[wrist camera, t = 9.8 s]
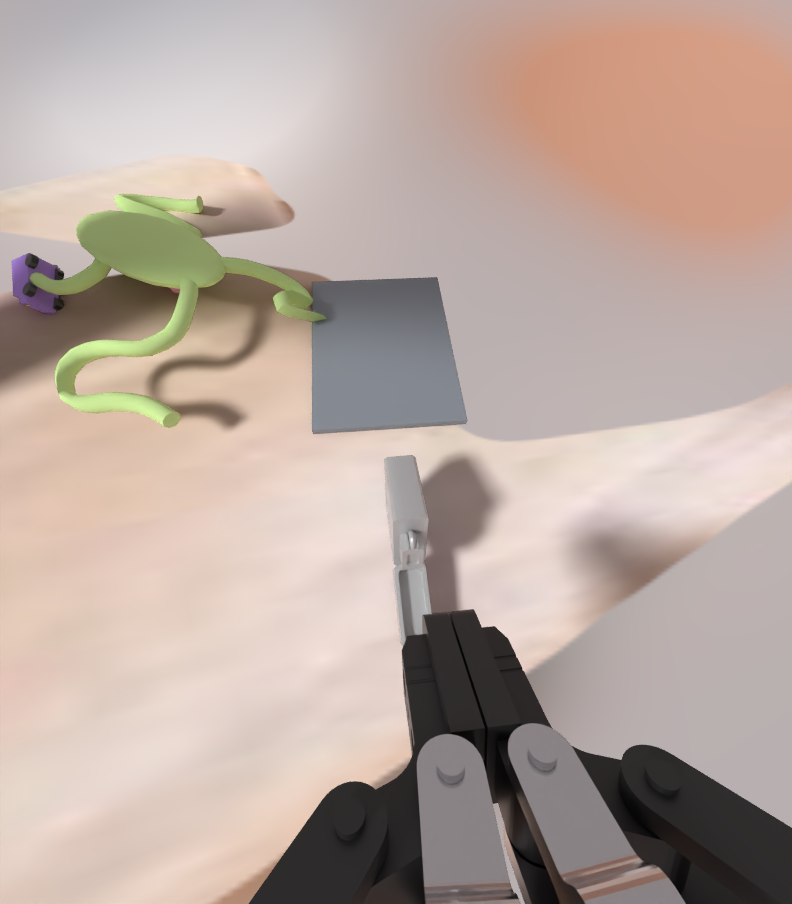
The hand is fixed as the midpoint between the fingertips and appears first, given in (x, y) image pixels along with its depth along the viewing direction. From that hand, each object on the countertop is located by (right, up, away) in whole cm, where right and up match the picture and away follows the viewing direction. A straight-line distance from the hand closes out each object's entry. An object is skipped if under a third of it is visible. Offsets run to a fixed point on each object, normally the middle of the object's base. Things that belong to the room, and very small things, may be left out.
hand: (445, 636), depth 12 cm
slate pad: (-3, +14, +21) cm, 25 cm away
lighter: (-1, +3, +13) cm, 13 cm away
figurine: (-20, +17, +23) cm, 35 cm away
